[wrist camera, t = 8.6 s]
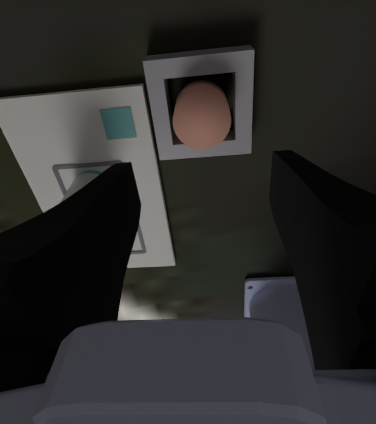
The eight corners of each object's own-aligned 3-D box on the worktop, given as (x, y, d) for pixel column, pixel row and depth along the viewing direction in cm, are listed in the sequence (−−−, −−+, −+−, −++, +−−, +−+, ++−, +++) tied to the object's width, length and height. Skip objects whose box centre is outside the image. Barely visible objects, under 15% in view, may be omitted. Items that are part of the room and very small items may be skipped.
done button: (228, 130, 19) (231, 147, 17) (178, 134, 19) (176, 151, 17) (227, 77, 17) (230, 89, 15) (172, 83, 17) (168, 95, 15)
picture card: (175, 261, 28) (175, 266, 28) (73, 266, 29) (71, 270, 28) (143, 83, 18) (141, 86, 18) (-9, 98, 19) (-14, 101, 19)
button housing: (247, 142, 20) (251, 153, 19) (162, 149, 21) (159, 160, 20) (250, 44, 17) (254, 49, 16) (146, 55, 17) (142, 61, 16)
